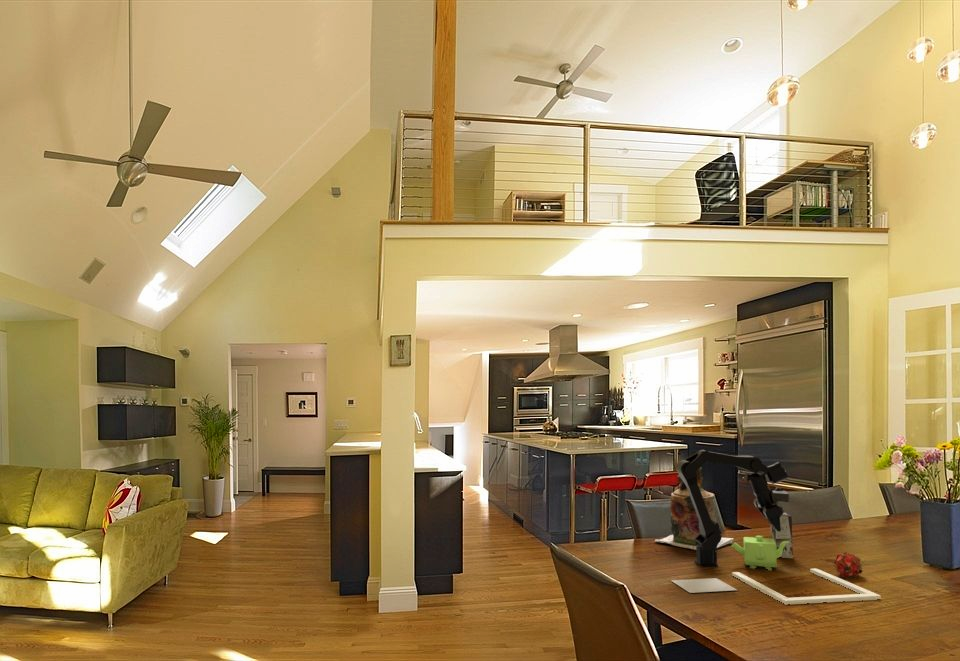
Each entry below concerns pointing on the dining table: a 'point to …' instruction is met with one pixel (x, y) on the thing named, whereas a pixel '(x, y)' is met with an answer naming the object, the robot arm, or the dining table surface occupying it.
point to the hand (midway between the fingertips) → (776, 527)
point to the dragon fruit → (848, 565)
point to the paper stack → (703, 585)
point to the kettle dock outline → (814, 599)
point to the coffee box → (784, 535)
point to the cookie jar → (688, 517)
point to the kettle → (760, 551)
